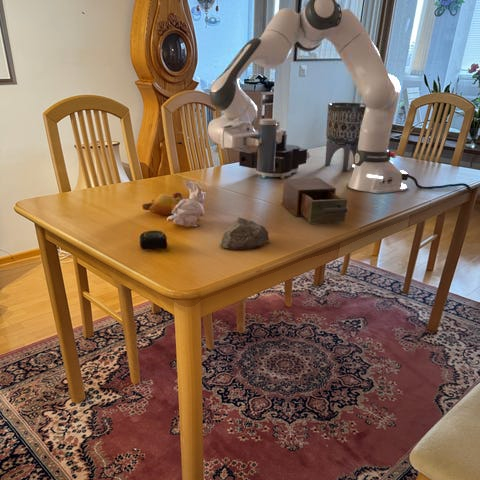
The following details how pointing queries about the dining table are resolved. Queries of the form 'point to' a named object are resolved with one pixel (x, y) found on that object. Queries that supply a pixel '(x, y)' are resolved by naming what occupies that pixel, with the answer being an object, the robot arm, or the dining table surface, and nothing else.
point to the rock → (244, 235)
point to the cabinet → (297, 186)
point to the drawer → (322, 207)
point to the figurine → (189, 206)
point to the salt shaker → (267, 145)
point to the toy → (163, 204)
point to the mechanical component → (278, 158)
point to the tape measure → (153, 240)
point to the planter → (343, 129)
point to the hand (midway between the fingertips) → (268, 141)
